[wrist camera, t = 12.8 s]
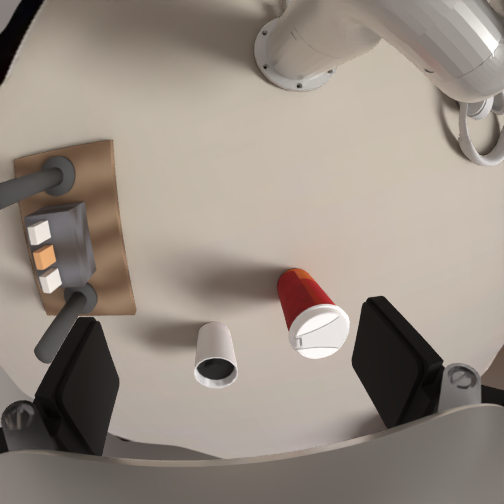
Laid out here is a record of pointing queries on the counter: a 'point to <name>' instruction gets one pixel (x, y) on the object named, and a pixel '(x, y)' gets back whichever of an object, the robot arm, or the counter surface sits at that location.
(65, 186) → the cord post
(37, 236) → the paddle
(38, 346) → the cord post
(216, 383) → the white cup
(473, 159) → the headphones
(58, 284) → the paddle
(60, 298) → the breaker panel
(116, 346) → the counter surface
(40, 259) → the paddle middle
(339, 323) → the coffee cup
